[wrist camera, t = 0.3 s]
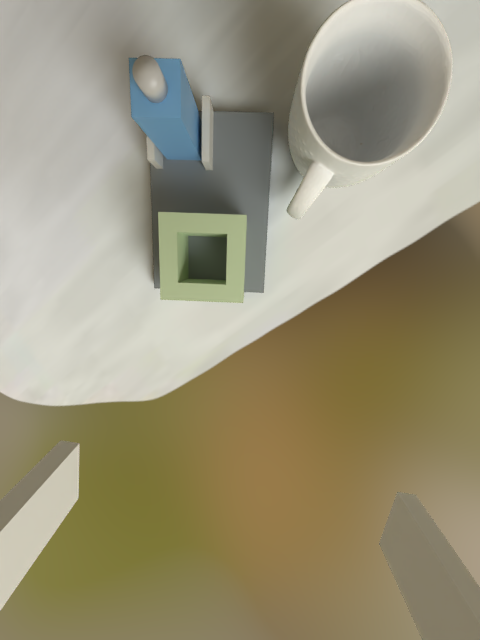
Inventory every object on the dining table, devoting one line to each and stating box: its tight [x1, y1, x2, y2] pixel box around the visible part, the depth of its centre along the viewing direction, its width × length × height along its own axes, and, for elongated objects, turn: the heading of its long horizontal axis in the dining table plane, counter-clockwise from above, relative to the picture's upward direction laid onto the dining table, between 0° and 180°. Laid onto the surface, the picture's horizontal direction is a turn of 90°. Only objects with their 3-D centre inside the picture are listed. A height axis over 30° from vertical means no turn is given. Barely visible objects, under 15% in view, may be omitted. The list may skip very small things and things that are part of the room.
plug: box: [129, 55, 202, 161], centre depth 26 cm, size 4×4×12 cm
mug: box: [287, 0, 453, 219], centre depth 27 cm, size 15×11×13 cm
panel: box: [146, 96, 274, 293], centre depth 32 cm, size 20×14×4 cm
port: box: [158, 212, 247, 303], centre depth 32 cm, size 9×9×6 cm
